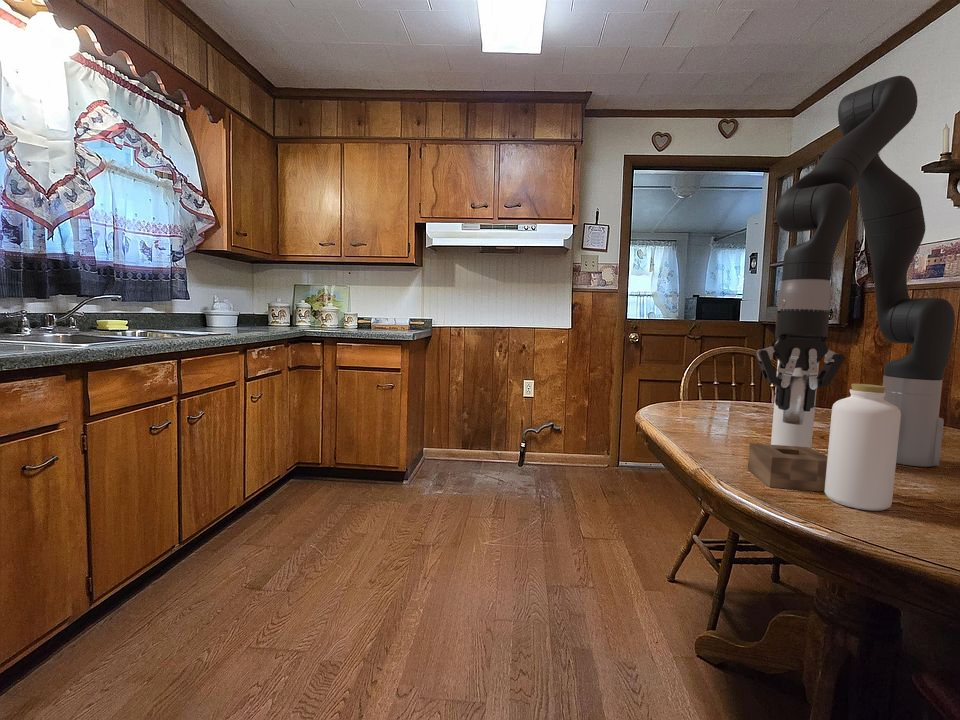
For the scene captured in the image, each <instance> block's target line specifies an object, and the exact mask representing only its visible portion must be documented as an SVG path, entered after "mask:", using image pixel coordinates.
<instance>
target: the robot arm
mask: <svg viewBox="0 0 960 720" xmlns="http://www.w3.org/2000/svg"><path fill="white" fill-rule="evenodd" d="M917 107H918V93H917V89H916V87H915V84H914V83H913V81H912V79H910V78H909V77H907V76H906V75H895V76H894V75H893V76H892V77H888V78H885V79H882V80H879V81H878V82H875V83H873V84H869V85H868V86H865V87H863V88H860V89H858V90H855V91H852V92H851V93H849V94H846V95H845V96H843V97H842V98H841V100H840V102H839V103H838V109H837V119H838V125H839V130H840V134H841V138H840V139H838V140H837V141H836V142H834V143H833V144H832V145H831V146H830V147H829V148H828V149H827V150H825V152H824V153H823V154H822V156H821V157H820V159H819V160H818V162H817V163H816V164H815V166H813V169H812V170H811V171H810V172H809V173H807V174H805V175H804V176H802V177H801V178H800V179H798V181H796V182H795V183H793V184H792V185H791V186H790V187H788V188H787V189H786V190H785V192H784V193H783V194H782V195H781V196H780V198H779V199H778V201H777V204H776V207H775V214H774V217H775V222H776V224H777V225H778V226H779V228H780V229H782V230H783V231H785V232H788V233H800V232H809V231H810V232H811V231H814V233H813V235H812V236H811V238H810V239H808V240H807V241H804V242H803V243H799V244H795V245H792V246H790V247H788V248H787V249H786V250H785V252H784V256H783V261H782V272H781V282H780V283H781V284H780V288H779V292H778V299H777V309H776V311H777V312H776V320H775V332H774V337H775V338H774V339H773V341H772V343H771V345H770V346H769V347H765V348H762V349H755V351H754V355H755V357H756V360H757V361H756V362H757V364H758V365H759V369H760V372H761V374H762V377H763V379H764V381H765V382H767V383H770V384H772V385H774V386H775V389H776V393H775V394H776V397H775V396H774V401H775V404H776V405H778V408H779V409H781V410H787V409H788V400H789V388H787V387H788V385H789V382H790V378H791V376H792V375H793V373H794V369H795V368H800V371H801V374H802V376H804V377H807V386H806V397H805V407H804V411H808V412H809V411H810V409H811V408H813V407H814V402H815V392H816V393H817V391H816V389H817V390H818V389H819V388H822V387H828V386H830V384H831V382H832V380H833V379H834V377H835V375H836V374H837V373H838V371H839V369H840V367H841V366H842V364H843V363H844V361H845V359H846V357H845V355H844V354H843V353H837V352H835V351H832V350H831V349H829V345H828V343H827V338H828V333H829V331H828V330H829V322H830V312H831V311H830V310H831V307H832V303H831V299H832V288H831V287H832V286H831V285H832V284H831V283H832V282H831V280H832V273H833V264H834V263H833V262H834V256H835V253H836V251H837V247H838V244H839V242H840V238H841V236H842V233H843V232H844V228H846V224H847V222H848V220H849V217H850V215H851V213H852V212H851V211H852V206H853V200H852V199H853V198H852V194H851V191H852V190H853V189H854V187H855V185H856V190H857V197H858V199H859V200H858V202H859V207H860V215H861V220H862V224H863V230H864V235H865V238H866V243H867V246H868V252H869V256H870V257H869V258H870V262H871V268H872V273H873V281H874V292H875V294H874V295H875V305H876V306H875V307H876V308H875V309H876V316H877V324H878V328H879V331H880V333H881V335H882V337H883V338H884V339H885V340H886V341H888V342H890V343H895V344H907V345H912V347H911V349H910V351H909V353H908V354H906V355H905V356H903V357H900V358H897V359H893V360H890V361H887V362H886V363H885V365H884V367H883V368H884V370H883V379H882V380H883V381H882V386H884V387H885V390H884V392H886V394H885V396H884V400H885V401H887V402H889V403H891V404H893V405H895V406H896V407H898V409H899V410H900V412H901V420H900V429H899V439H898V449H897V458H896V464H898V465H905V466H911V467H912V466H913V467H940V459H941V450H942V443H943V442H942V441H943V433H944V432H943V431H944V423H945V422H944V421H945V420H944V418H942V417H940V410H941V409H940V408H941V400H942V399H941V398H942V388H943V379H944V373H945V371H946V368H947V366H948V364H949V360H950V355H951V354H950V353H951V348H952V344H953V343H952V342H953V337H954V331H955V326H956V325H955V324H956V316H955V315H956V314H955V310H954V307H953V305H952V304H951V302H950V301H948V300H947V299H945V298H943V297H941V298H939V297H918V298H917V297H915V298H911V297H910V295H909V291H908V290H909V289H908V282H907V281H908V279H907V277H908V271H909V268H910V265H911V263H912V262H913V259H914V258H915V256H916V254H917V252H918V250H919V248H920V246H921V244H922V242H923V239H924V237H925V233H926V221H925V215H924V210H923V205H922V200H921V196H920V194H919V193H918V191H917V190H916V189H915V188H913V186H912V185H910V184H909V183H908V182H907V181H906V180H904V178H902V177H901V176H899V175H898V174H897V173H896V172H895V171H893V170H892V169H891V168H889V167H888V166H887V164H885V162H884V161H883V160H882V159H881V157H880V155H879V153H880V152H881V151H882V150H883V149H884V148H885V147H886V146H887V144H889V143H890V142H891V141H892V140H893V139H894V138H895V137H896V135H898V134H899V133H900V132H901V131H902V130H903V129H904V128H906V127H907V125H908V124H909V123H910V122H911V121H912V120H913V118H914V116H915V114H916V111H917ZM773 354H774V355H775V356H776V358H777V361H778V360H779V361H780V362H779V366H778V370H777V369H776V370H775V368H774V366H773V363H772V361H771V360H773V358H774V357H773V356H774V355H773ZM823 358H824V360H823V362H824V364H823V366H822V368H821V370H820V371H819V368H818V369H817V363H818V362H819V363H820V361H821V360H822V359H823ZM775 371H776V372H775ZM777 372H778V374H777ZM817 375H818V376H817ZM815 403H816V402H815Z"/></svg>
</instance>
